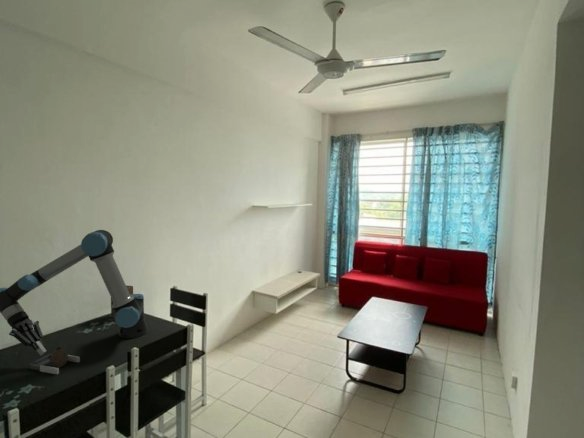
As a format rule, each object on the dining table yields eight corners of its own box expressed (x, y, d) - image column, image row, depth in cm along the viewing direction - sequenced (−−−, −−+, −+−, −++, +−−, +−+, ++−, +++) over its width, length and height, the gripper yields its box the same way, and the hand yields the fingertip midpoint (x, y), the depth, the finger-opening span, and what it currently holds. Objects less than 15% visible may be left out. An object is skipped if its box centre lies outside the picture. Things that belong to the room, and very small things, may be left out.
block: (123, 319, 208) (123, 289, 207) (110, 318, 210) (109, 288, 209) (134, 314, 218) (133, 285, 216) (121, 312, 220) (120, 284, 218)
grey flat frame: (28, 368, 148) (28, 364, 148) (51, 357, 159) (50, 353, 159) (40, 370, 147) (40, 366, 147) (62, 359, 157) (62, 355, 157)
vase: (65, 360, 156) (64, 343, 155) (70, 365, 151) (69, 347, 151) (48, 366, 151) (47, 348, 150) (52, 371, 146) (51, 353, 146)
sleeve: (39, 371, 146) (39, 366, 146) (63, 358, 158) (63, 354, 157) (57, 374, 144) (57, 369, 144) (79, 361, 155) (79, 356, 155)
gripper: (25, 315, 162) (52, 351, 160) (-4, 325, 150) (25, 364, 147) (33, 306, 161) (60, 342, 158) (4, 315, 148) (33, 355, 145)
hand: (43, 353), depth 152 cm, fingers closed
